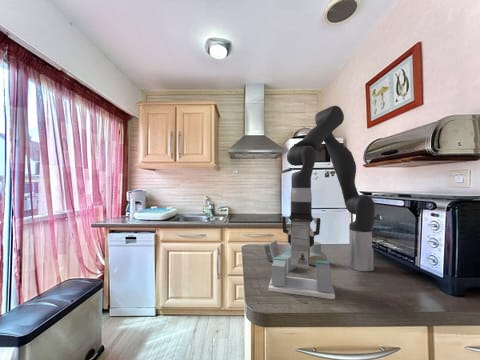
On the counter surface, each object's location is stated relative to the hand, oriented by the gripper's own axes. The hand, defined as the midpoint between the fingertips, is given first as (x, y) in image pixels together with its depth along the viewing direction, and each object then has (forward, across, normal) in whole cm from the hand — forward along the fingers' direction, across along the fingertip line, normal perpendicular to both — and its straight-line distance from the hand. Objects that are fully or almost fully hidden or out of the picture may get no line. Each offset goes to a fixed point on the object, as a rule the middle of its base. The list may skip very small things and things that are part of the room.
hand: (300, 245), depth 87 cm
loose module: (+16, +6, -19) cm, 25 cm away
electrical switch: (+16, +14, -29) cm, 36 cm away
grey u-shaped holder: (+15, 0, 0) cm, 15 cm away
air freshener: (+16, -6, -29) cm, 33 cm away
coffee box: (+6, 0, 0) cm, 6 cm away
